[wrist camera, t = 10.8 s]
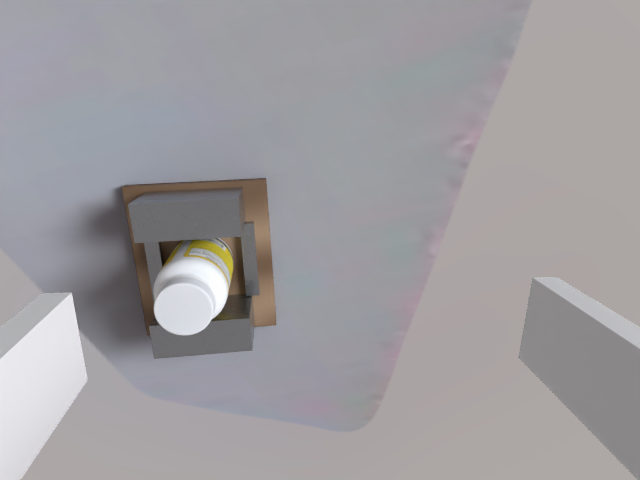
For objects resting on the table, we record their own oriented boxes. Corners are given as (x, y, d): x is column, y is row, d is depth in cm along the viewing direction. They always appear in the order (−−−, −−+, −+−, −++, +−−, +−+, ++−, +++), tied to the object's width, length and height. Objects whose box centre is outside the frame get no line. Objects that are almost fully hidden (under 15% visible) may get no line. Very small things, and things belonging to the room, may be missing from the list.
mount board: (125, 185, 36) (121, 187, 35) (266, 178, 37) (265, 179, 36) (150, 330, 41) (147, 335, 40) (276, 320, 42) (276, 325, 41)
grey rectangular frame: (138, 192, 36) (118, 204, 31) (251, 186, 37) (247, 197, 32) (161, 329, 40) (145, 359, 35) (262, 321, 40) (260, 349, 36)
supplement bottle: (186, 295, 39) (159, 354, 30) (163, 242, 37) (127, 286, 28) (243, 278, 39) (234, 331, 30) (223, 224, 37) (206, 262, 28)
